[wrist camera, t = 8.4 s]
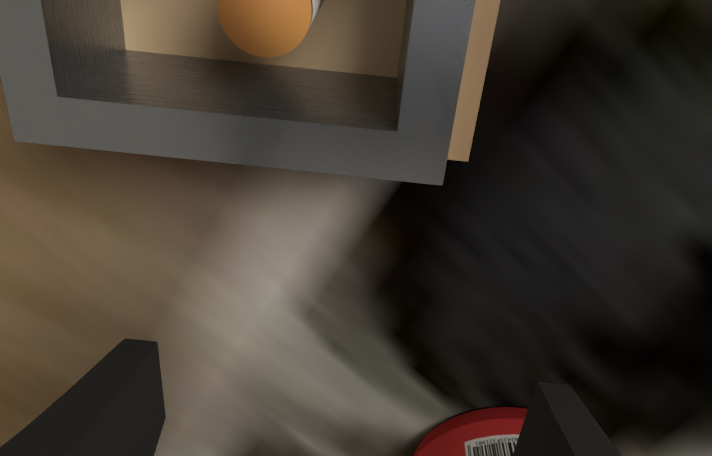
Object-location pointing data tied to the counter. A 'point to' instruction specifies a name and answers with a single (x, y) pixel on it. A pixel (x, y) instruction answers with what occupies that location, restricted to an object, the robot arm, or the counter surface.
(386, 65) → the board
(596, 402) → the counter surface
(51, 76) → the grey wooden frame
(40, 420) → the robot arm
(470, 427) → the canned food
